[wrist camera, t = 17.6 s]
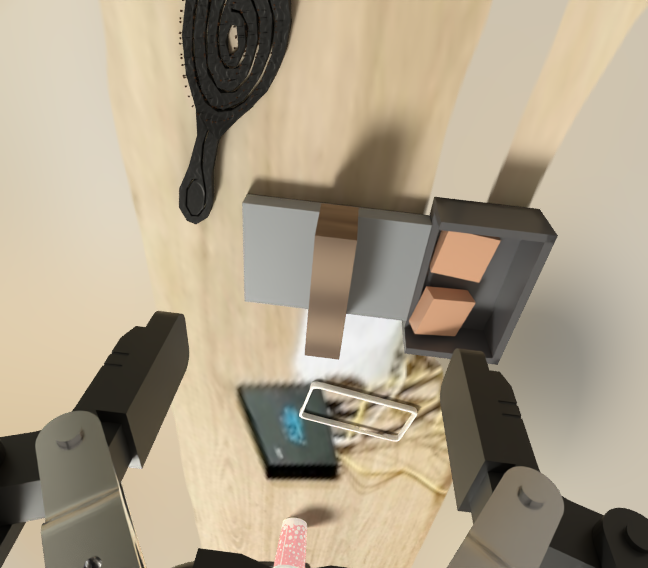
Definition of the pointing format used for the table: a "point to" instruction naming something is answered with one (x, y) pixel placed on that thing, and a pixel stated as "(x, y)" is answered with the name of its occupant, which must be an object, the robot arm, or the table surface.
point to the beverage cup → (292, 544)
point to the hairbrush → (225, 79)
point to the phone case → (363, 397)
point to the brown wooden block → (331, 279)
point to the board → (298, 245)
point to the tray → (484, 275)
